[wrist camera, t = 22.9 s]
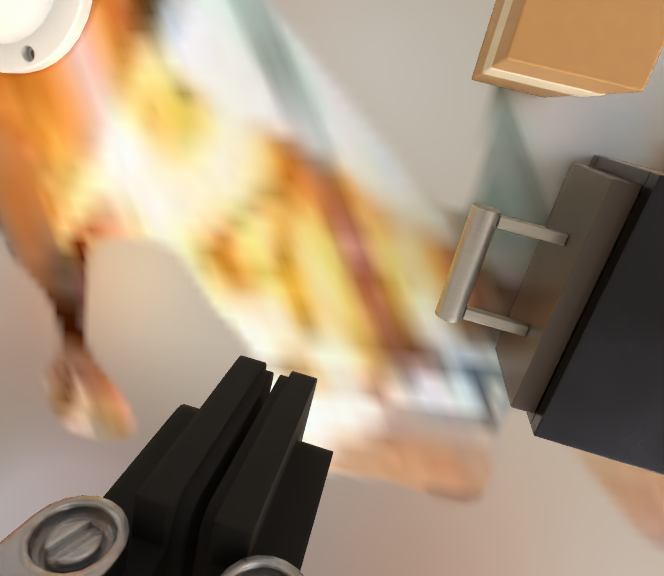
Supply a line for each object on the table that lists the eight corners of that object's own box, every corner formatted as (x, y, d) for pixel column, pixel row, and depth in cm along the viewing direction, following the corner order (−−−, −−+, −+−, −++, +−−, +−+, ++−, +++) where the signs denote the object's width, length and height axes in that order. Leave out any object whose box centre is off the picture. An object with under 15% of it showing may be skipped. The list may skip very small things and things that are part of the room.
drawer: (420, 327, 31) (418, 379, 25) (483, 139, 26) (499, 149, 20) (721, 414, 29) (794, 492, 23) (842, 229, 25) (971, 269, 19)
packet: (469, 80, 26) (502, 61, 14) (511, -52, 24) (591, -208, 12) (546, 98, 26) (644, 94, 14) (595, -34, 24) (764, -175, 12)
